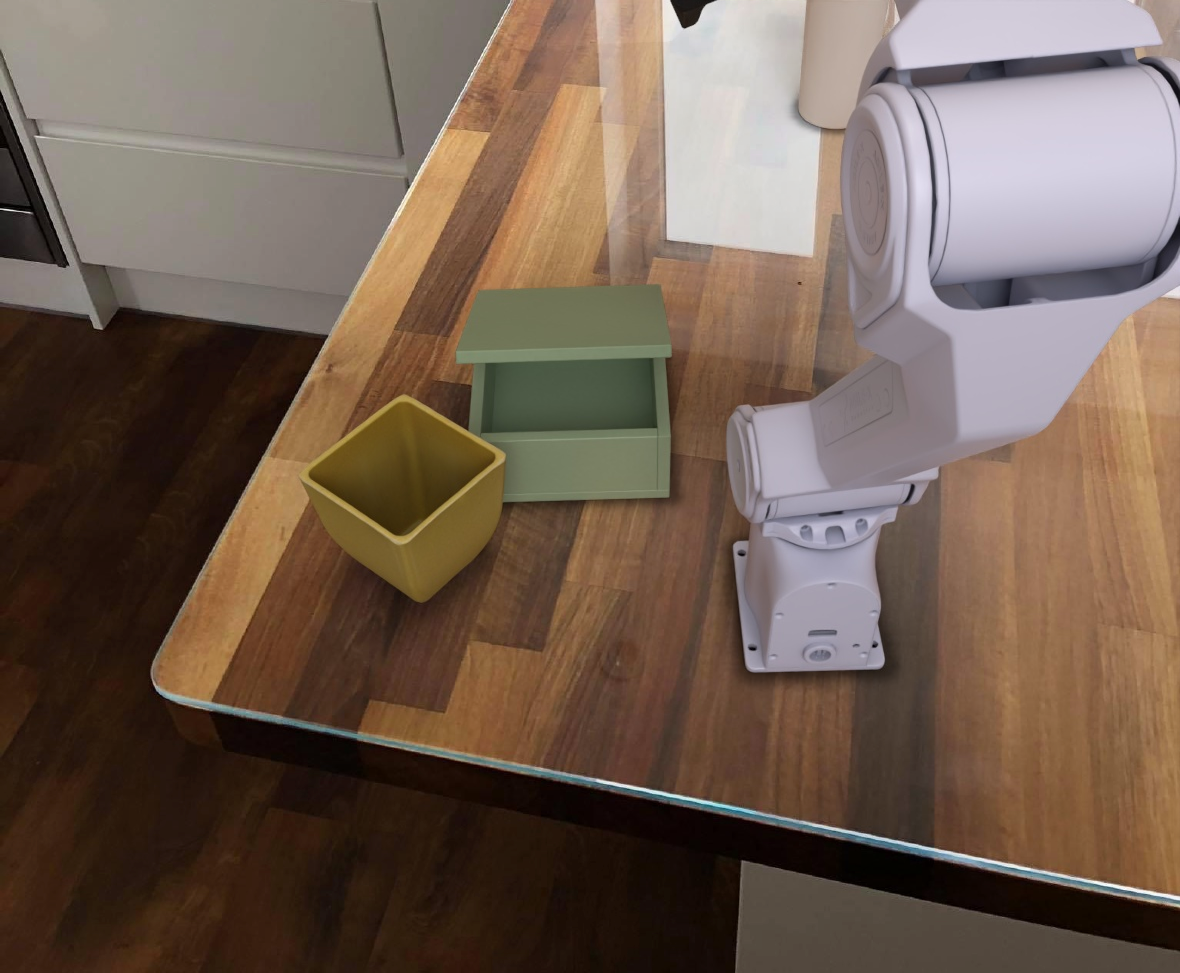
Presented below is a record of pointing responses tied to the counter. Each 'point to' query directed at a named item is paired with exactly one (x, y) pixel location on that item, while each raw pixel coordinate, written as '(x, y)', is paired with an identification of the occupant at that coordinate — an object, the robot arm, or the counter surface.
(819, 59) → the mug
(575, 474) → the bread box
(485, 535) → the flower pot
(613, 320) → the bread lid
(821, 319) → the counter surface
